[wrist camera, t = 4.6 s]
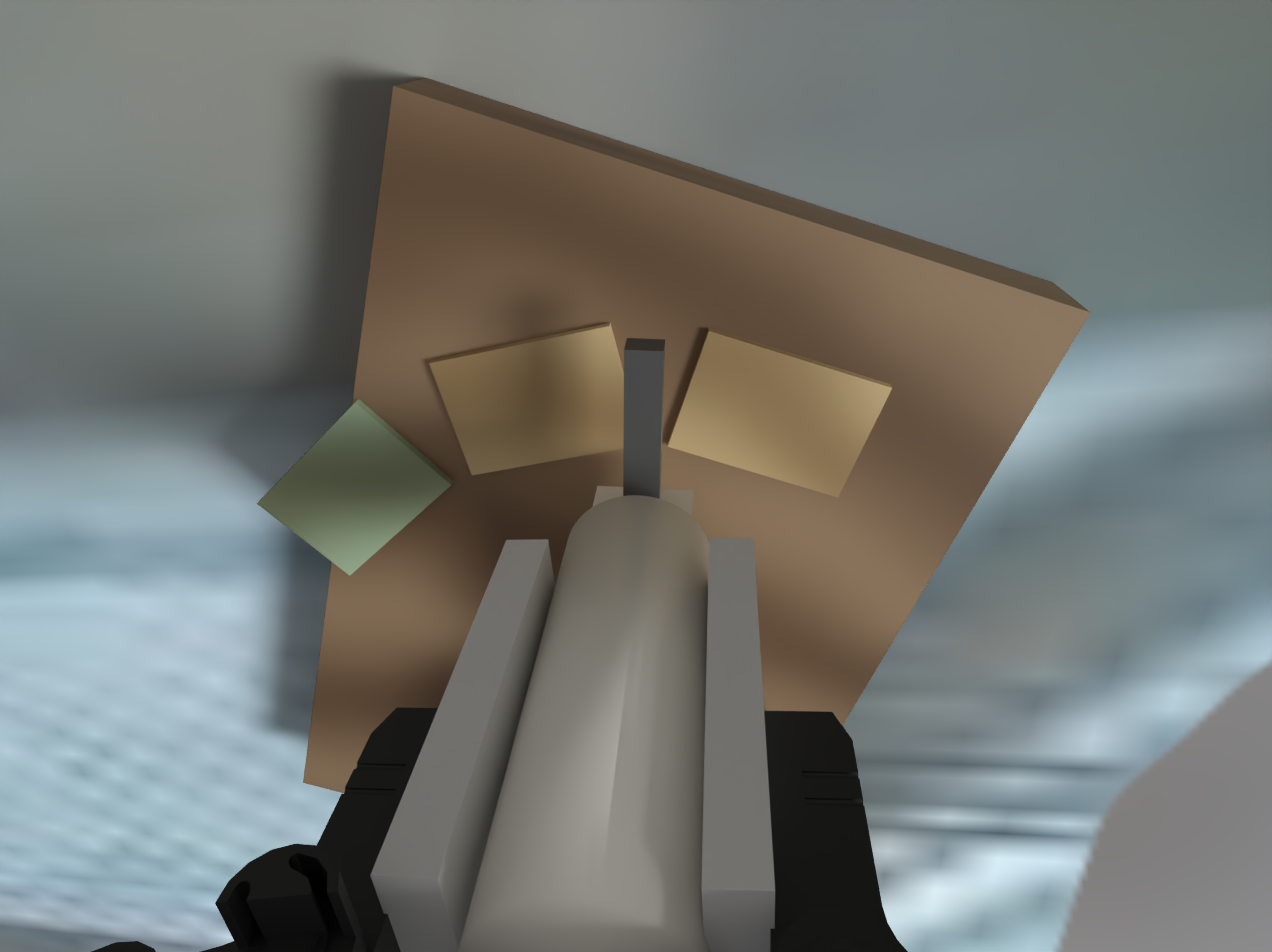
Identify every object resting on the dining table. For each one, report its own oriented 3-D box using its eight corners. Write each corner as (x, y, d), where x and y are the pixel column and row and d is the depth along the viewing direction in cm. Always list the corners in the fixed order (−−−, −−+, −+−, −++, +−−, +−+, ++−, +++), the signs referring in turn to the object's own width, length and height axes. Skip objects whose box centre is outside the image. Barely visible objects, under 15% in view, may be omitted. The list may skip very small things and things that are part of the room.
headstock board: (738, 839, 28) (740, 901, 26) (272, 717, 27) (238, 772, 25) (1053, 283, 18) (1094, 315, 16) (335, 48, 17) (287, 53, 15)
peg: (738, 808, 24) (757, 1352, 14) (546, 793, 24) (437, 1316, 14) (792, 310, 16) (909, 738, 7) (515, 301, 17) (253, 694, 7)
